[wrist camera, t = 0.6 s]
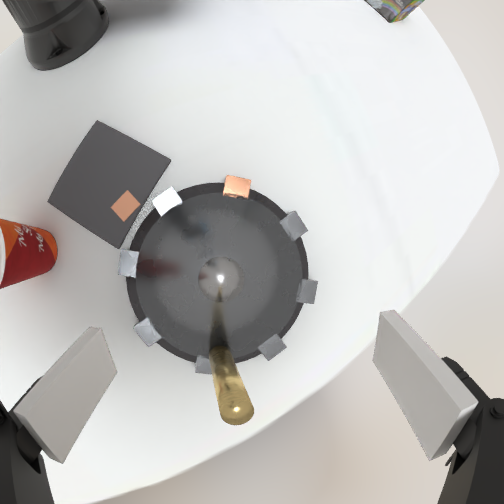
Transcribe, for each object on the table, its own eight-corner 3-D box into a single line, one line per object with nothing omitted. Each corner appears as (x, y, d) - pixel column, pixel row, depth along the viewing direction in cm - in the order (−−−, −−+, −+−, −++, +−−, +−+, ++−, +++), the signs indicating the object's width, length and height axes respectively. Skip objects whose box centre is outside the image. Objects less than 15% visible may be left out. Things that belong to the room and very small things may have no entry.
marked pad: (98, 121, 28) (96, 119, 27) (171, 161, 30) (170, 158, 29) (49, 202, 27) (46, 201, 26) (119, 248, 29) (117, 248, 28)
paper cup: (69, 227, 28) (3, 218, 14) (59, 288, 27) (-6, 311, 14) (25, 216, 26) (-42, 203, 12) (16, 272, 26) (-51, 284, 12)
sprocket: (186, 145, 30) (185, 86, 17) (340, 242, 34) (412, 240, 21) (94, 312, 28) (42, 351, 15) (255, 392, 32) (288, 456, 19)
